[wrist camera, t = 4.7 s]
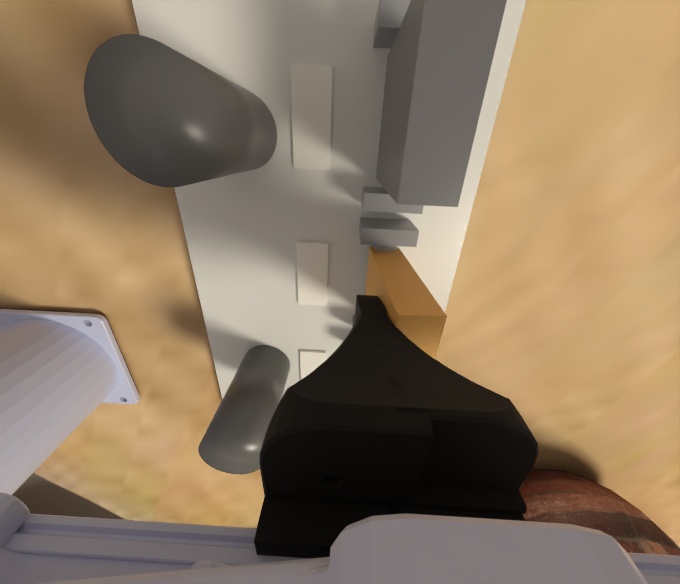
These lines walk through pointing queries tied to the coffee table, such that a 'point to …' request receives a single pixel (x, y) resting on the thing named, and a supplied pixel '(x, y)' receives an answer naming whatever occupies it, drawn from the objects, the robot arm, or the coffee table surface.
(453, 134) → the paddle
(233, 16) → the breaker panel
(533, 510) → the pottery
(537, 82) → the coffee table surface
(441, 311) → the block
